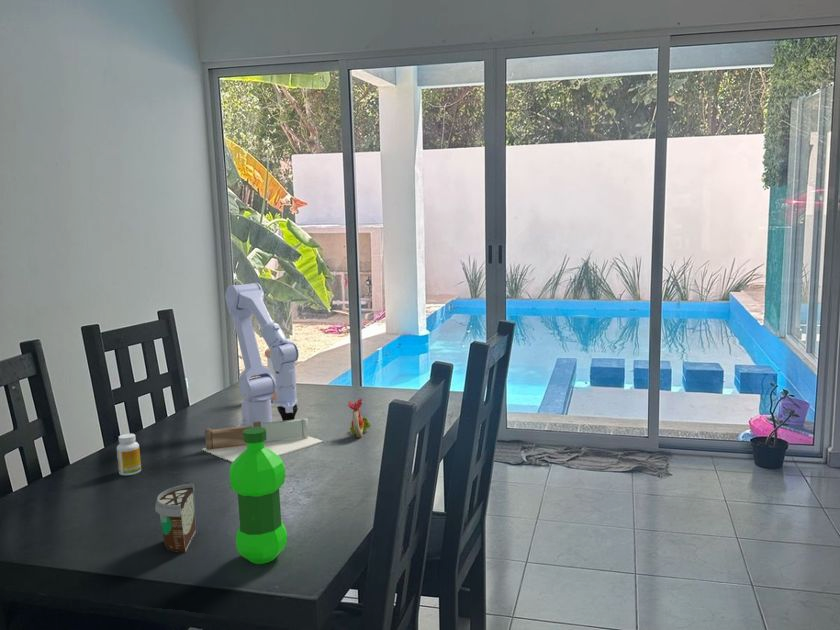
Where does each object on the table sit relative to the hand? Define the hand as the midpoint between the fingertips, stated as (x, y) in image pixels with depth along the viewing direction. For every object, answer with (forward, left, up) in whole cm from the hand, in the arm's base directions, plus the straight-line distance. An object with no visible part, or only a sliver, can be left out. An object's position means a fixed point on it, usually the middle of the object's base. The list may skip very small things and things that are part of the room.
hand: (288, 430), depth 212 cm
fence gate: (+3, -3, -1) cm, 4 cm away
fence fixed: (-5, -15, -1) cm, 16 cm away
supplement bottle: (-8, -44, -2) cm, 44 cm away
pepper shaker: (-39, +23, -2) cm, 46 cm away
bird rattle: (+15, +14, -2) cm, 21 cm away
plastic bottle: (+58, -48, -2) cm, 75 cm away
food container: (+39, -56, -2) cm, 68 cm away
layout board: (+1, -10, -2) cm, 10 cm away
